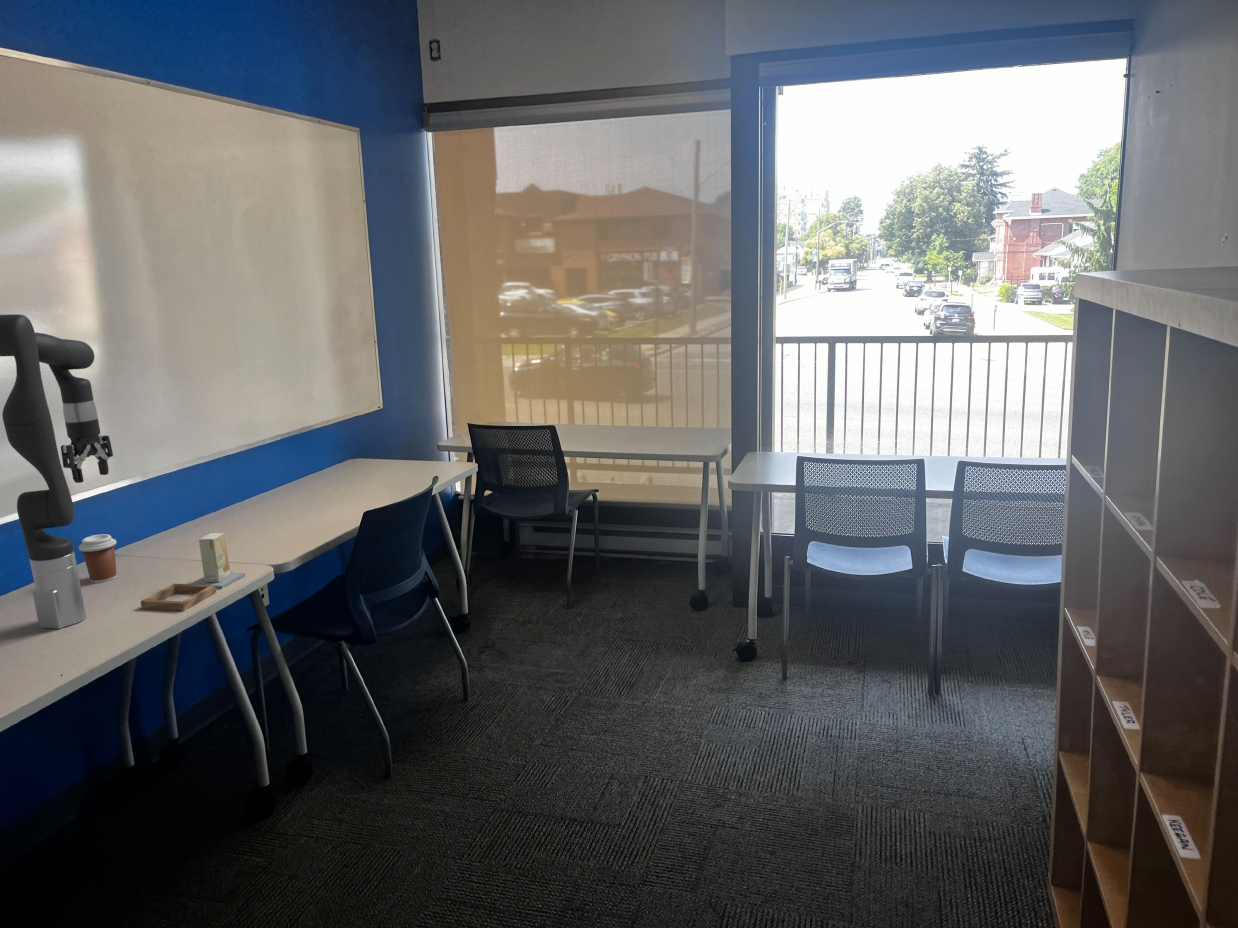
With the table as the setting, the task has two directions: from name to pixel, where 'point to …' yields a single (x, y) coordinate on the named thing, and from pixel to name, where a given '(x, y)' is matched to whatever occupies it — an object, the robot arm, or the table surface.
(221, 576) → the skincare box
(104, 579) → the coffee cup
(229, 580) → the grey rubber pad
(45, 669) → the table surface
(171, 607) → the frame
